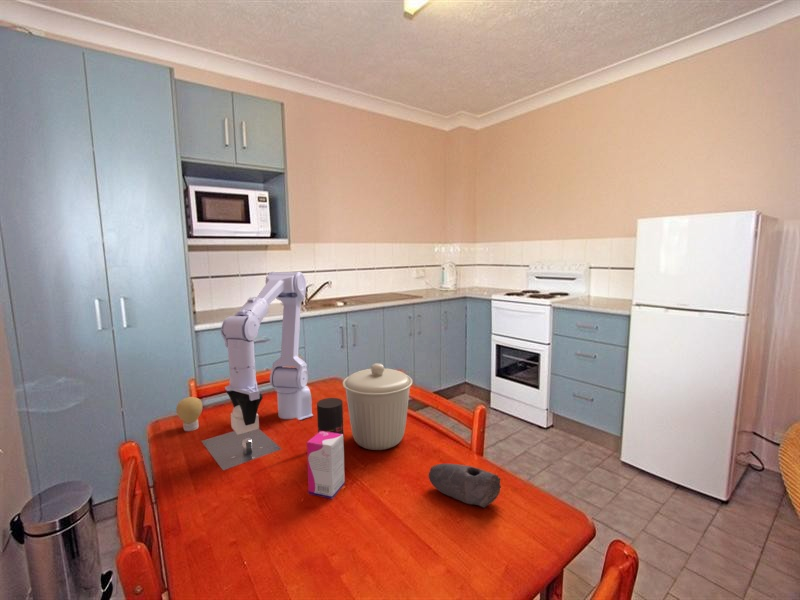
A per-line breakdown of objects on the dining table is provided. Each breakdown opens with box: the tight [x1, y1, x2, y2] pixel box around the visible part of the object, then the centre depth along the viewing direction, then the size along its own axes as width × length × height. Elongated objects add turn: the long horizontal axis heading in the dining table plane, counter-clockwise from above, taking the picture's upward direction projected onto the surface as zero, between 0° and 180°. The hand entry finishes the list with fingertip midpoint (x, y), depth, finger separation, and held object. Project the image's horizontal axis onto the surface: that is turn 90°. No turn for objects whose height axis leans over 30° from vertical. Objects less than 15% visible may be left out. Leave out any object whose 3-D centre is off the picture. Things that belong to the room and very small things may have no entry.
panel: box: [200, 428, 282, 471], centre depth 98 cm, size 14×18×4 cm
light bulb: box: [175, 396, 204, 432], centre depth 108 cm, size 6×6×10 cm
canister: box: [342, 362, 413, 451], centre depth 101 cm, size 18×18×21 cm
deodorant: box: [316, 397, 345, 445], centre depth 91 cm, size 6×6×15 cm
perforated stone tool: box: [428, 463, 502, 509], centre depth 79 cm, size 15×5×7 cm, turn 57°
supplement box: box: [306, 431, 346, 500], centre depth 82 cm, size 6×6×12 cm
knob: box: [230, 405, 260, 435], centre depth 93 cm, size 5×5×5 cm
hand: (245, 420), depth 94 cm, fingers closed on knob, 5 cm apart
